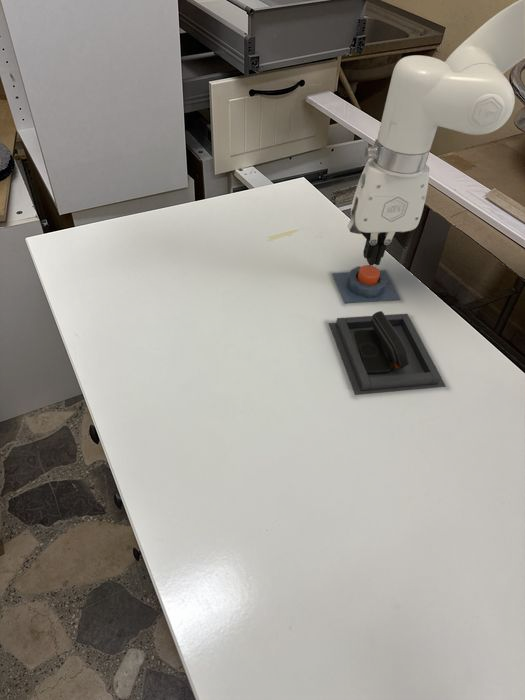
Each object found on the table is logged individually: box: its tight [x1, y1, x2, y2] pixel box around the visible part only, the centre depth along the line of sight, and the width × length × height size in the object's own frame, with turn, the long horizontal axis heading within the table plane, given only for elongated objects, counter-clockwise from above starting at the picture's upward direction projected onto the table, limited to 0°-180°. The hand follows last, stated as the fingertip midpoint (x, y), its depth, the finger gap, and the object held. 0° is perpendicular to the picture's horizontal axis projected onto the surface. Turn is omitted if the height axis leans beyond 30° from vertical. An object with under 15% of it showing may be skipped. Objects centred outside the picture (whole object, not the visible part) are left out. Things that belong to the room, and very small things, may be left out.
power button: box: [357, 264, 381, 285], centre depth 90 cm, size 4×4×2 cm
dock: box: [328, 313, 447, 396], centre depth 80 cm, size 14×15×2 cm
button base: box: [331, 265, 401, 304], centre depth 91 cm, size 10×8×3 cm
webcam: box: [354, 310, 409, 373], centre depth 78 cm, size 9×6×6 cm
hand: (371, 260), depth 88 cm, fingers closed
